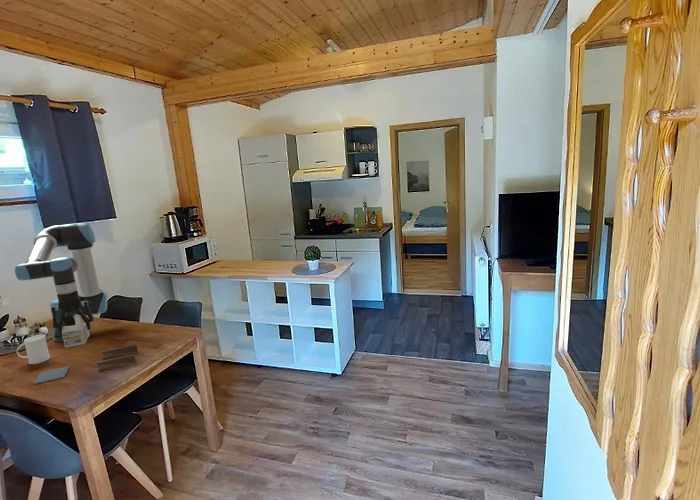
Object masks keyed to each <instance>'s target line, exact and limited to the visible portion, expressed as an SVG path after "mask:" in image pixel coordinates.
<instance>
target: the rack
mask: <svg viewBox="0 0 700 500" xmlns="http://www.w3.org/2000/svg"><path fill="white" fill-rule="evenodd" d="M138 352H139V350H138V345H137V343H135V344H130V345H124V346H121V347H115V348H110V349H106V350H102V351H101V357H102V360H101V361H97V363H96V364H97V367H98V372H101V371H106V370H110V369H115V368H119V367H124V366H127V365H132V364H136V363H137V361H136V360H137V359H136V355H135V354H136V353H138Z"/></svg>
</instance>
